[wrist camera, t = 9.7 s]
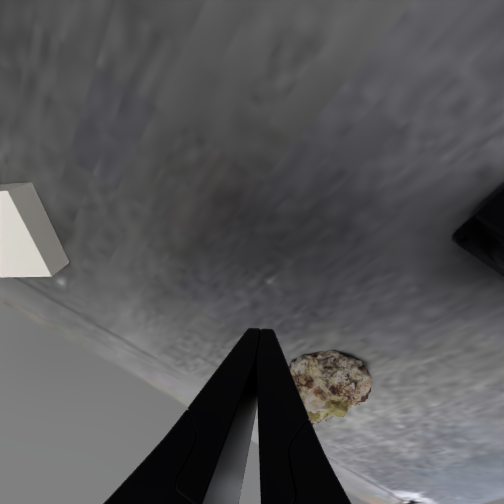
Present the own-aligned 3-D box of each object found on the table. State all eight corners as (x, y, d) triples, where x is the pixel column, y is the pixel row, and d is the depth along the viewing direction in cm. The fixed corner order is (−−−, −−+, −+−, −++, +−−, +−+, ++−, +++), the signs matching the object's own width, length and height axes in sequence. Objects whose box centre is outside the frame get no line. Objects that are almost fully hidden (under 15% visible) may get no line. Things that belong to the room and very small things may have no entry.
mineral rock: (317, 349, 23) (398, 414, 23) (324, 319, 27) (394, 374, 26) (251, 405, 29) (314, 459, 28) (265, 374, 32) (321, 420, 32)
